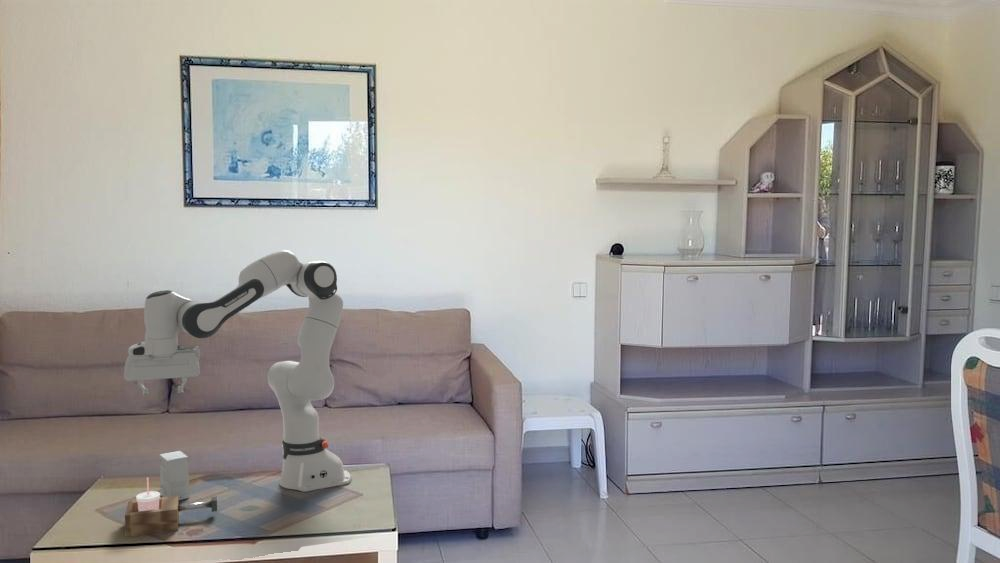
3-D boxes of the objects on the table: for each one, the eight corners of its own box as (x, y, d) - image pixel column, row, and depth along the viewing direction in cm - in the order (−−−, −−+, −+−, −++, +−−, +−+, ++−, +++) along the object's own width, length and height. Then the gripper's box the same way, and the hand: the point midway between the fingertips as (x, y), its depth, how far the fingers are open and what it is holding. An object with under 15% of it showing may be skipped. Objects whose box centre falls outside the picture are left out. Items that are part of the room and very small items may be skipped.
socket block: (179, 515, 225) (178, 495, 225) (177, 530, 215) (177, 509, 215) (129, 521, 221) (128, 501, 220) (125, 537, 211) (124, 515, 210)
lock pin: (216, 507, 227) (216, 496, 227) (217, 511, 224) (216, 500, 224) (169, 512, 223) (168, 501, 222) (168, 516, 220) (168, 505, 219)
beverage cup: (161, 528, 216) (160, 479, 215) (137, 532, 214) (135, 482, 212) (160, 520, 222) (159, 472, 221) (137, 524, 219) (135, 475, 218)
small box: (190, 498, 239) (188, 456, 238) (168, 503, 235) (167, 460, 234) (181, 490, 245) (180, 450, 244) (160, 495, 241) (158, 454, 240)
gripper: (200, 343, 234) (201, 388, 236) (124, 346, 227) (126, 393, 228) (200, 346, 228) (201, 393, 230) (122, 350, 221) (124, 398, 222)
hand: (163, 393), depth 229 cm, fingers open, 8 cm apart
